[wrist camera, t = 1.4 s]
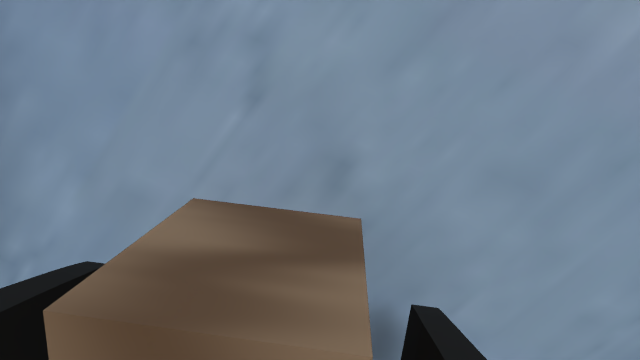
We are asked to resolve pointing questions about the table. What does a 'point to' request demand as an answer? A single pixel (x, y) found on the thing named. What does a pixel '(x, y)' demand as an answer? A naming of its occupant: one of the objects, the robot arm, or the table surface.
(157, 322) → the walnut block
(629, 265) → the table surface
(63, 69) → the table surface
